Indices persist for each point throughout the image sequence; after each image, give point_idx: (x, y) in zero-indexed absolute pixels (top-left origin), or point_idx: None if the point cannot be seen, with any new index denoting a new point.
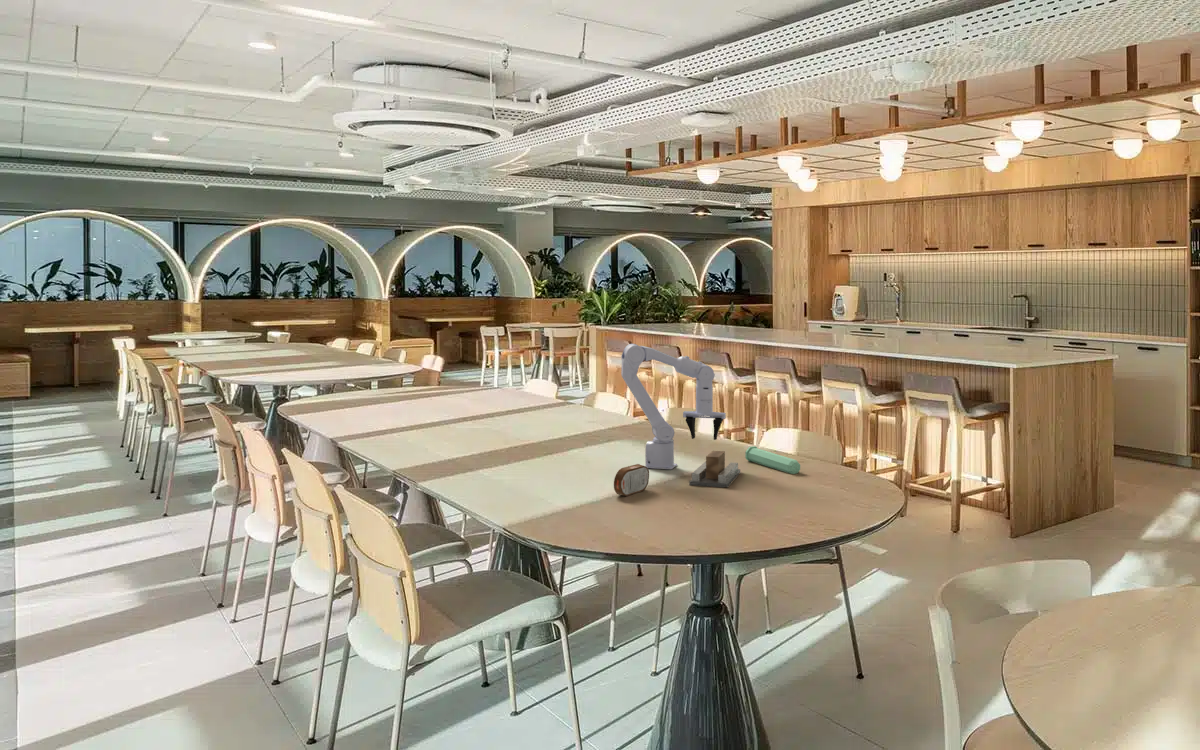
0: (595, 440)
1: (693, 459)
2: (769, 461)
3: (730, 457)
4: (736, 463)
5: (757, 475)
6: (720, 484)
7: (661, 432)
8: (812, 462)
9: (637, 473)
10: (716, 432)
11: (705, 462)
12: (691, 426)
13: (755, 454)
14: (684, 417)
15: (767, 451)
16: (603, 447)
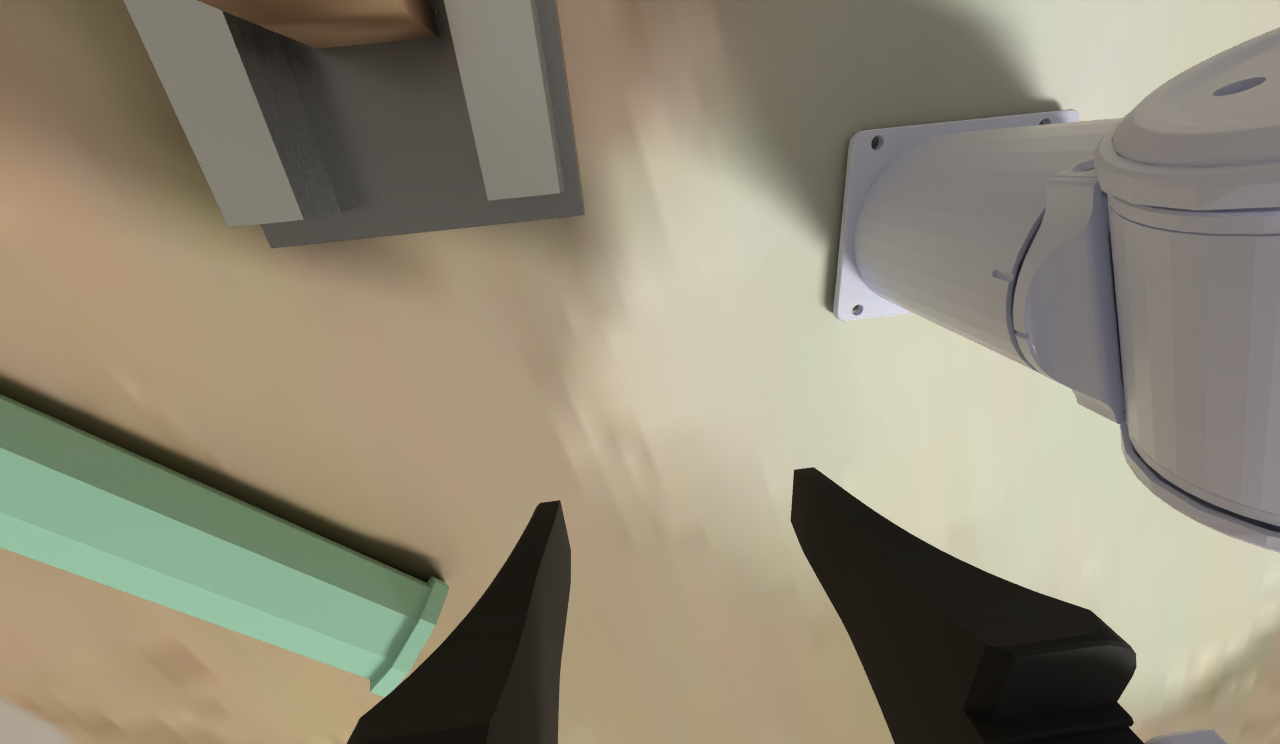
0: (1276, 672)
1: (764, 511)
2: (164, 496)
3: (580, 620)
4: (217, 184)
5: (108, 205)
6: None
7: None
8: (106, 676)
9: None
10: (503, 567)
11: (533, 108)
12: (909, 566)
13: (331, 587)
14: (1181, 733)
15: (228, 627)
16: (1266, 577)
